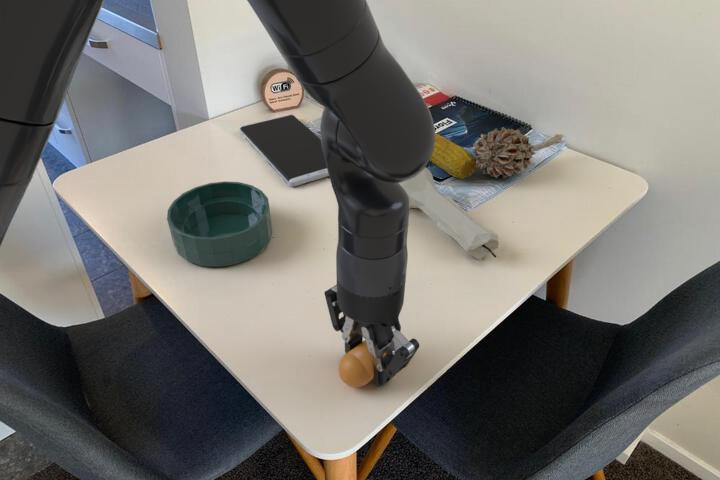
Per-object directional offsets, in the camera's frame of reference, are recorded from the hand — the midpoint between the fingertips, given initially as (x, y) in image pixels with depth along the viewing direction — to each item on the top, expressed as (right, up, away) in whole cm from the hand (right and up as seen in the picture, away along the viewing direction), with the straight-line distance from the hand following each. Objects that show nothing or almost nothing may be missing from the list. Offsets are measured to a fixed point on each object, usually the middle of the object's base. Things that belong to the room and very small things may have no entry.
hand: (367, 369), depth 67 cm
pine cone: (+31, +31, +40) cm, 59 cm away
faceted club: (+13, +18, +24) cm, 33 cm away
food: (+14, +33, +42) cm, 56 cm away
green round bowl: (-24, +17, +21) cm, 36 cm away
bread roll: (0, 0, 0) cm, 0 cm away
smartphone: (-15, +35, +45) cm, 59 cm away
